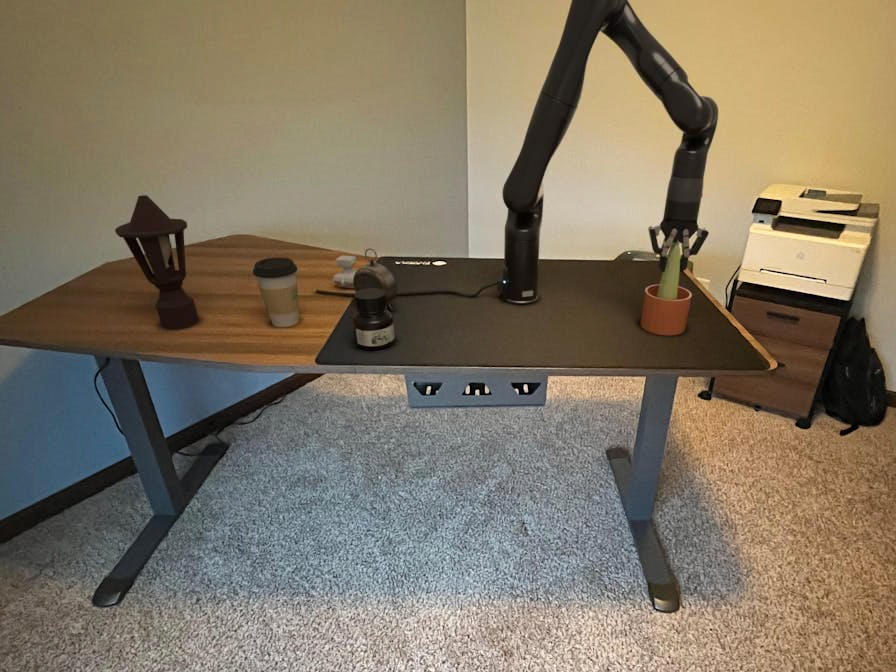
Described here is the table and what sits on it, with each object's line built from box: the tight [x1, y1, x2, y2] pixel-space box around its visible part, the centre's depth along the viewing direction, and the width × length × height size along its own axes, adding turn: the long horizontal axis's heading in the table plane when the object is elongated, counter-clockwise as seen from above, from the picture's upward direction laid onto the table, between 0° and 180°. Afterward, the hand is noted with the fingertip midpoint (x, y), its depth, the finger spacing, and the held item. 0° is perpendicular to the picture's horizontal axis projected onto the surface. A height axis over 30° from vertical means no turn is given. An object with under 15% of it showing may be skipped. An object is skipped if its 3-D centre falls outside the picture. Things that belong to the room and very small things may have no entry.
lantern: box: [114, 194, 200, 330], centre depth 131 cm, size 15×15×30 cm
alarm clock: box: [353, 247, 398, 312], centre depth 143 cm, size 11×5×16 cm, turn 65°
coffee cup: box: [252, 256, 300, 328], centre depth 136 cm, size 10×10×15 cm
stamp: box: [332, 254, 358, 289], centre depth 160 cm, size 9×7×8 cm
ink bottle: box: [352, 288, 395, 351], centre depth 128 cm, size 10×9×12 cm
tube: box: [657, 241, 681, 300], centre depth 136 cm, size 6×5×20 cm
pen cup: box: [639, 283, 693, 336], centre depth 140 cm, size 11×11×9 cm
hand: (671, 270), depth 135 cm, fingers closed on tube, 3 cm apart
